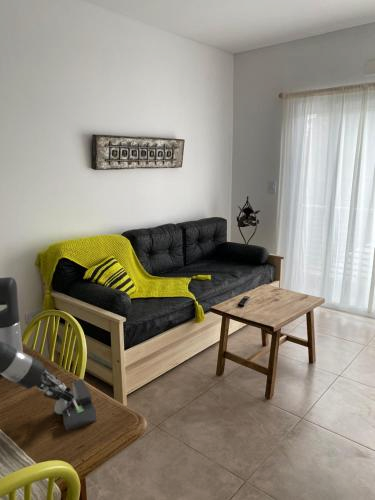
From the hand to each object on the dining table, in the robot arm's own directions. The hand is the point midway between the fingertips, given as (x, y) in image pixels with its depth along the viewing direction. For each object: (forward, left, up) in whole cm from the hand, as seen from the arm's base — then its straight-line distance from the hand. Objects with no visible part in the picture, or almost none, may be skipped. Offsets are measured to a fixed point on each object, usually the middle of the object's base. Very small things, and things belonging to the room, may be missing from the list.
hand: (69, 395), depth 114 cm
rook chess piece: (0, -2, -4) cm, 5 cm away
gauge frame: (+2, +1, -5) cm, 5 cm away
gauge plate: (+2, 0, -4) cm, 4 cm away
